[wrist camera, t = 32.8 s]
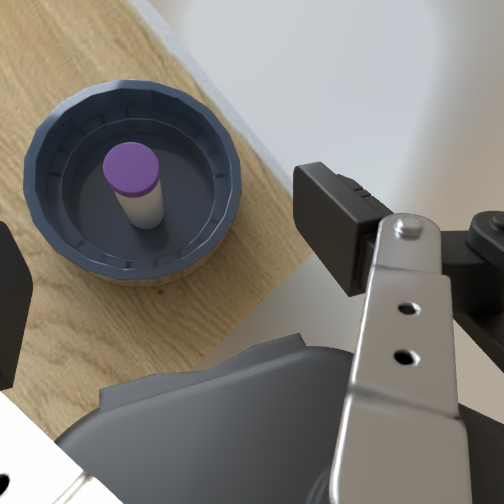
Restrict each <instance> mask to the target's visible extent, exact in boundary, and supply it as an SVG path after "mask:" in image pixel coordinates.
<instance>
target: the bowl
mask: <svg viewBox="0 0 504 504" xmlns="http://www.w3.org/2000/svg"><path fill="white" fill-rule="evenodd" d="M128 142H134V143H139V144H142V145H144V146H146V147H148V148H149V149H150V150H151V151H152V152H153V153H154V154H155V155H156V157H157V159H158V162H159V167H160V185H161V192H162V199H163V206H164V216H163V219H162V221H161V222H160V223H159V224H158V225H157V226H156V227H154V228H151V229H139V228H137V227H135V226H133V225H132V224H131V223H130V222H129V220H128V218H127V216H126V214H125V212H124V210H123V208H122V206H121V204H120V202H119V200H118V198H117V196H116V194H115V192H114V190H113V189H112V188H111V187H110V185H109V184H108V182H107V180H106V178H105V175H104V171H103V164H104V160H105V158H106V156H107V154H108V153H109V152H110V150H112V149H113V148H114V147H115V146H117V145H120V144H122V143H128ZM241 192H242V186H241V169H240V159H239V157H238V154H237V152H236V149H235V147H234V144H233V142H232V139H231V137H230V134H229V133H228V131H227V130H226V129H225V128H224V126H223V125H222V124H221V123H220V121H219V120H218V119H217V118H216V116H215V115H214V114H213V113H212V112H211V110H210V109H209V108H208V107H206V106H205V105H203V104H202V103H200V102H199V101H197V100H196V99H194V98H193V97H191V96H190V95H188V94H187V93H186V92H184V91H182V90H179V89H176V88H173V87H170V86H167V85H164V84H161V83H158V82H155V81H148V80H127V79H118V80H114V81H109V82H105V83H101V84H97V85H92V86H88V87H86V88H85V89H83V90H81V91H79V92H78V93H76V94H74V95H72V96H71V97H69V98H67V99H65V100H64V101H62V102H60V103H59V104H58V105H57V106H56V107H55V108H54V110H53V111H52V112H51V113H50V114H49V115H48V116H47V117H46V118H45V120H44V121H43V122H42V123H41V124H40V125H39V126H38V128H37V129H36V131H35V133H34V136H33V138H32V141H31V143H30V145H29V148H28V150H27V153H26V155H25V159H24V179H23V193H24V196H25V199H26V202H27V205H28V208H29V211H30V214H31V217H32V220H33V223H34V224H35V226H36V227H37V228H38V230H39V231H40V232H41V233H42V235H43V236H44V237H45V239H46V240H47V241H48V242H49V244H50V245H51V246H52V247H53V249H54V250H55V251H56V252H57V253H59V254H61V255H62V256H64V257H65V258H67V259H68V260H70V261H71V262H73V263H74V264H76V265H78V266H79V267H81V268H82V269H84V270H85V271H87V272H89V273H91V274H92V275H94V276H96V277H97V278H99V279H101V280H105V281H109V282H113V283H116V284H120V285H124V286H128V287H145V286H160V285H164V284H167V283H169V282H172V281H175V280H178V279H180V278H183V277H186V276H188V275H190V274H191V273H192V272H194V271H195V270H196V269H197V268H199V267H200V266H201V265H203V264H204V263H205V262H207V261H208V260H209V259H210V258H211V257H212V256H213V254H214V253H215V251H216V250H217V248H218V247H219V245H220V244H221V242H222V241H223V239H224V238H225V237H226V235H227V233H228V231H229V229H230V227H231V225H232V223H233V221H234V218H235V214H236V210H237V207H238V203H239V200H240V196H241Z"/></svg>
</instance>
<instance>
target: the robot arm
mask: <svg viewBox="0 0 504 504" xmlns="http://www.w3.org/2000/svg"><path fill="white" fill-rule="evenodd" d="M293 217H294V222H295V225H296V228H297V230H298V231H299V233H300V234H301V235H302V237H303V238H304V239H305V241H306V242H307V243H308V245H309V246H310V247H311V248H312V250H313V251H314V252H315V254H316V255H317V256H318V258H319V259H320V260H321V262H322V263H323V264H324V265H325V267H326V268H327V269H328V271H329V272H330V273H331V274H332V276H333V277H334V278H335V280H336V281H337V282H338V284H339V285H340V286H341V288H342V289H343V290H344V291H345V293H346V294H347V295H348V297H352V296H355V295H359V294H363V293H365V299H364V304H363V310H362V314H361V320H360V325H359V331H358V336H357V342H356V346H355V352H354V354H353V353H351V352H347V351H344V350H340V349H335V348H329V347H319V346H317V347H315V346H308V347H307V346H306V344H305V342H304V341H303V339H302V337H301V335H300V333H297V334H293V335H290V336H286V337H283V338H279V339H276V340H272V341H269V342H265V343H261V344H258V345H255V346H252V347H251V348H249V349H247V350H245V351H243V352H241V353H239V354H238V355H236V356H234V357H232V358H230V359H228V360H226V361H225V362H223V363H221V364H219V365H217V366H215V367H213V368H211V369H209V370H205V371H195V372H181V373H167V374H153V375H149V376H146V377H142V378H139V379H135V380H132V381H128V382H125V383H121V384H118V385H114V386H111V387H107V388H103V389H100V390H99V408H97V409H95V410H93V411H92V412H90V413H89V414H87V415H85V416H84V417H82V418H81V419H79V420H78V421H77V422H76V423H74V424H73V425H72V426H70V427H69V428H68V429H67V430H66V431H65V432H63V433H62V434H61V435H60V436H59V437H58V438H57V439H56V440H55V441H54V442H53V441H52V440H51V439H49V438H48V437H47V436H46V435H45V434H44V433H43V432H42V431H41V430H40V429H39V428H38V427H37V426H36V425H35V424H34V423H33V422H32V421H31V420H30V419H29V418H27V417H26V416H25V415H24V414H23V413H22V412H21V411H20V410H19V409H18V408H17V407H16V406H15V405H14V404H13V403H12V402H11V401H10V400H9V399H8V398H7V397H5V396H4V395H3V394H2V393H1V392H0V504H504V424H502V423H500V422H497V421H495V420H493V419H491V418H489V417H487V416H485V415H483V414H481V413H479V412H477V411H475V410H472V409H470V408H468V407H466V406H464V405H462V404H460V403H458V395H457V379H456V364H455V346H454V330H453V318H454V320H455V321H456V322H457V323H458V324H459V325H460V326H461V327H462V328H463V330H464V331H465V332H466V333H467V334H468V335H469V336H470V337H471V338H472V339H473V340H474V341H475V342H476V344H477V345H478V346H479V347H480V348H481V349H482V350H483V351H484V352H485V353H486V354H487V355H488V357H489V358H490V359H491V360H492V361H493V362H494V363H495V364H496V365H497V366H498V367H499V368H500V370H501V371H502V372H503V373H504V212H502V211H485V212H481V213H478V214H476V215H475V216H474V217H473V219H472V222H471V225H470V228H469V231H440V229H439V227H438V226H437V225H436V223H434V222H433V221H431V220H430V219H427V218H426V217H423V216H420V215H416V214H410V213H409V214H408V213H397V214H394V213H393V212H392V211H391V210H389V209H388V208H387V207H386V206H385V205H384V204H382V203H381V202H380V201H379V200H377V199H376V198H375V197H374V196H371V194H370V193H369V192H368V191H366V190H363V187H362V186H360V185H359V184H358V183H357V182H355V181H354V180H353V179H350V178H347V177H344V176H342V175H340V174H337V175H336V174H335V173H333V172H332V171H331V170H330V169H329V168H327V167H326V166H325V165H324V164H323V163H321V162H315V163H310V164H305V165H299V166H296V167H295V169H294V173H293ZM32 292H33V282H32V277H31V273H30V270H29V268H28V266H27V264H26V262H25V260H24V258H23V256H22V254H21V252H20V250H19V248H18V246H17V244H16V242H15V240H14V238H13V236H12V234H11V232H10V230H9V228H8V227H7V225H6V224H5V223H4V222H2V221H0V391H2V390H5V389H9V388H12V387H13V383H14V378H15V373H16V368H17V364H18V359H19V354H20V349H21V345H22V340H23V335H24V330H25V326H26V321H27V316H28V311H29V306H30V302H31V297H32Z"/></svg>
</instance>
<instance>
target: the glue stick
mask: <svg viewBox="0 0 504 504" xmlns="http://www.w3.org/2000/svg"><path fill="white" fill-rule="evenodd" d="M103 171H104V175H105V178H106V180H107V182H108V184H109V185H110V187H111V188H112V189H113V190H114V192H115V194H116V196H117V198H118V200H119V202H120V204H121V206H122V208H123V210H124V212H125V214H126V216H127V218H128V220H129V222H130V223H131V224H132V225H133V226H135V227H137V228H139V229H151V228H154V227H156V226H157V225H158V224H159V223H160V222H161V221H162V219H163V216H164V206H163V199H162V192H161V185H160V167H159V162H158V159H157V157H156V155H155V154H154V153H153V152H152V151H151V150H150V149H149V148H148V147H146V146H144V145H142V144H139V143H134V142H128V143H122V144H120V145H117V146H115V147H114V148H113V149H112V150H110V152H109V153H108V154H107V156H106V158H105V160H104V164H103Z"/></svg>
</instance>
